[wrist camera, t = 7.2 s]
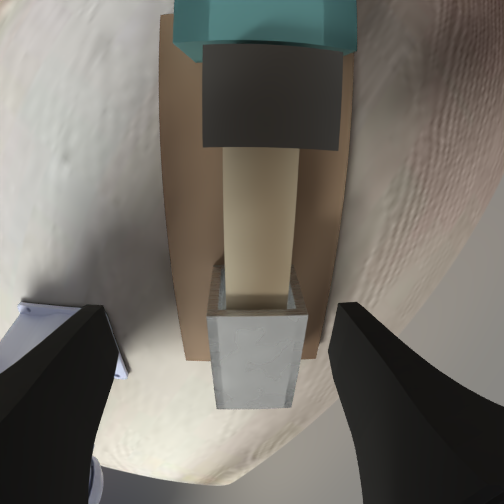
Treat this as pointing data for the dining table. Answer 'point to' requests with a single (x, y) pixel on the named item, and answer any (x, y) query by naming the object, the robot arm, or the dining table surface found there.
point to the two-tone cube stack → (265, 153)
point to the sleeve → (255, 348)
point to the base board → (211, 201)
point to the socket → (265, 24)
